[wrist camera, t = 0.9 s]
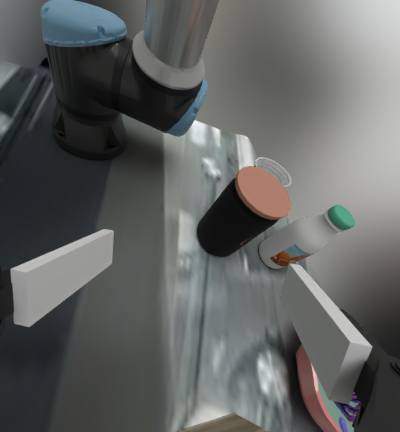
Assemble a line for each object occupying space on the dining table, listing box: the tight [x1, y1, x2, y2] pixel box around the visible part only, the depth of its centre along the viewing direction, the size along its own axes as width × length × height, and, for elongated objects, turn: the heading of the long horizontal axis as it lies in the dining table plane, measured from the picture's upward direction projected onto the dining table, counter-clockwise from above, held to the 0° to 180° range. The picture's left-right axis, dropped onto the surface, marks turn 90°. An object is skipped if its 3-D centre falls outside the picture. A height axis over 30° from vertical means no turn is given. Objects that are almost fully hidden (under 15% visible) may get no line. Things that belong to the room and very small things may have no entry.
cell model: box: [296, 344, 361, 432], centre depth 33 cm, size 17×20×11 cm
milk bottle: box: [259, 205, 355, 269], centre depth 41 cm, size 8×8×20 cm
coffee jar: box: [198, 166, 291, 256], centre depth 39 cm, size 11×11×18 cm
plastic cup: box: [254, 157, 292, 188], centre depth 53 cm, size 11×11×12 cm
